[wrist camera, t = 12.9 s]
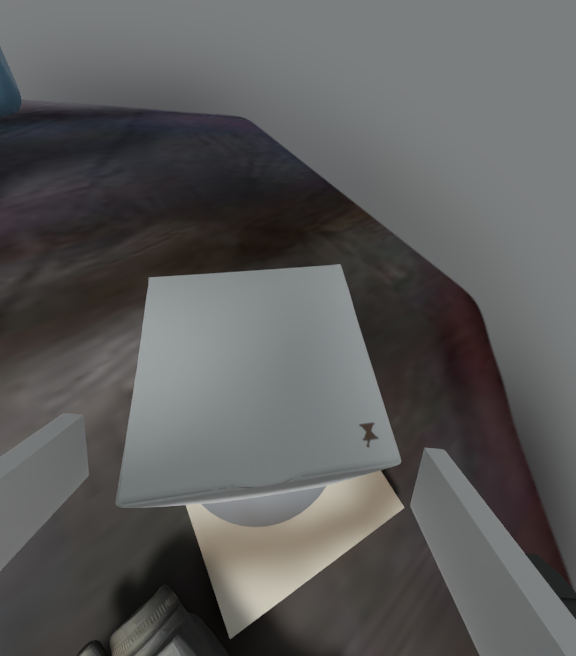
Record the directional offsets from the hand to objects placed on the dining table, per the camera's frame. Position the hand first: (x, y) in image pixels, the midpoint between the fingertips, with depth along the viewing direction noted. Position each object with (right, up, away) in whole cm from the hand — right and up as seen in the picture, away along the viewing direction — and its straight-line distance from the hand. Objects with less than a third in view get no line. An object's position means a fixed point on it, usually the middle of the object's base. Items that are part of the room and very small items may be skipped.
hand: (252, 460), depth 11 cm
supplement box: (-1, -4, +13) cm, 13 cm away
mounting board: (-1, -4, +14) cm, 14 cm away
